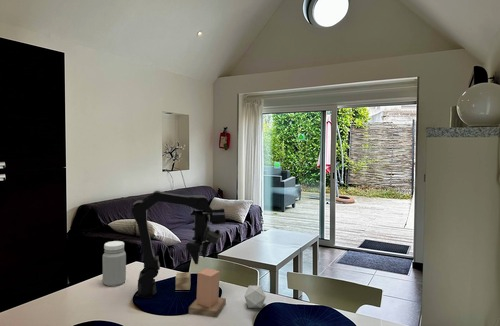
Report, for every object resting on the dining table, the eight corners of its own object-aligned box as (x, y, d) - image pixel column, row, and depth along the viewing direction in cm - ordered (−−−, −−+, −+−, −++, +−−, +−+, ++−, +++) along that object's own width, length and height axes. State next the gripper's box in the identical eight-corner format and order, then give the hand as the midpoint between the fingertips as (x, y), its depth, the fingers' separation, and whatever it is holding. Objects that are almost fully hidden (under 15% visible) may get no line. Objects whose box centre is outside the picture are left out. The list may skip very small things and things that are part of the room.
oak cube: (175, 291, 151) (175, 277, 150) (176, 285, 157) (176, 272, 156) (189, 291, 151) (189, 277, 151) (190, 285, 157) (190, 272, 157)
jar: (117, 276, 165) (117, 239, 164) (130, 282, 160) (130, 243, 158) (98, 283, 157) (98, 243, 156) (110, 289, 152) (110, 248, 151)
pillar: (196, 303, 134) (197, 272, 133) (205, 297, 139) (207, 268, 138) (209, 307, 131) (210, 276, 130) (218, 301, 136) (219, 271, 136)
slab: (188, 315, 131) (188, 307, 131) (199, 302, 142) (199, 294, 142) (216, 319, 129) (216, 311, 129) (225, 305, 140) (225, 298, 139)
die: (258, 315, 132) (271, 292, 135) (239, 302, 134) (252, 279, 136) (257, 313, 140) (269, 291, 143) (239, 300, 141) (252, 279, 144)
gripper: (211, 231, 140) (210, 270, 140) (225, 221, 158) (224, 255, 159) (185, 229, 142) (184, 267, 143) (202, 219, 160) (201, 253, 161)
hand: (200, 260), depth 151 cm, fingers open, 9 cm apart
